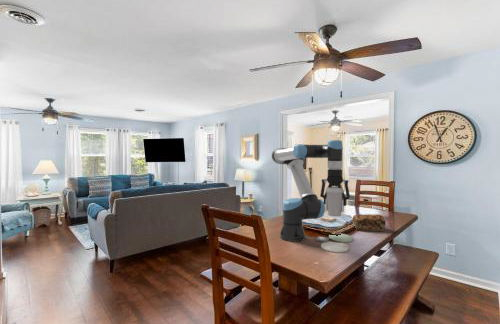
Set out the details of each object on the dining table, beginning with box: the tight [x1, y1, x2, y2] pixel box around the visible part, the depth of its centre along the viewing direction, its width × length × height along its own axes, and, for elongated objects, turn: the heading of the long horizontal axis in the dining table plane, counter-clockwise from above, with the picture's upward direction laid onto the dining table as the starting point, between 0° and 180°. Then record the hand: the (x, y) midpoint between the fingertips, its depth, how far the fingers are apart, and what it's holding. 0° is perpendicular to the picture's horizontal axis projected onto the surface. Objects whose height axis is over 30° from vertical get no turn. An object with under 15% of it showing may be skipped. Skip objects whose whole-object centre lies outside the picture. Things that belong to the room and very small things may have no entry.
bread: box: [352, 213, 387, 232], centre depth 170 cm, size 19×11×10 cm, turn 79°
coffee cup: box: [325, 186, 345, 218], centre depth 134 cm, size 10×10×15 cm
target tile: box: [314, 235, 331, 243], centre depth 148 cm, size 7×7×1 cm
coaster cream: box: [320, 241, 349, 254], centre depth 135 cm, size 14×14×1 cm
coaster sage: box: [328, 233, 354, 243], centre depth 150 cm, size 14×14×1 cm
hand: (334, 211), depth 134 cm, fingers closed on coffee cup, 8 cm apart
